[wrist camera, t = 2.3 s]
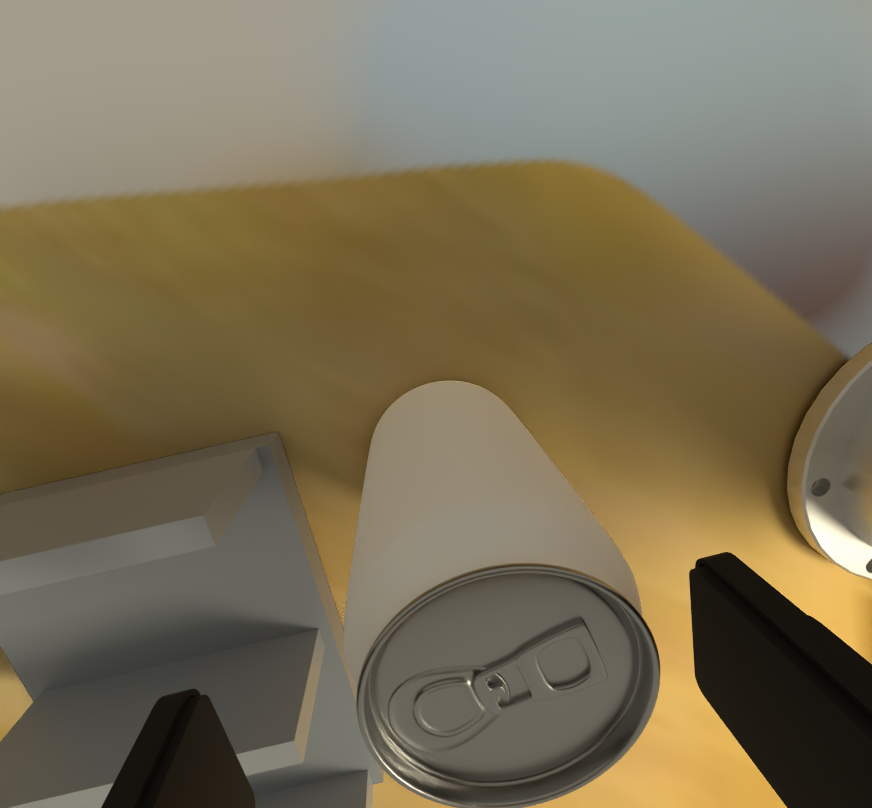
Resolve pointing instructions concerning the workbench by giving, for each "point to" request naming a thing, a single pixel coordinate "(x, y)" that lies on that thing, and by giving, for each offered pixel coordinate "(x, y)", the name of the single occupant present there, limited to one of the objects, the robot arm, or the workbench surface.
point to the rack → (175, 628)
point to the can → (488, 612)
